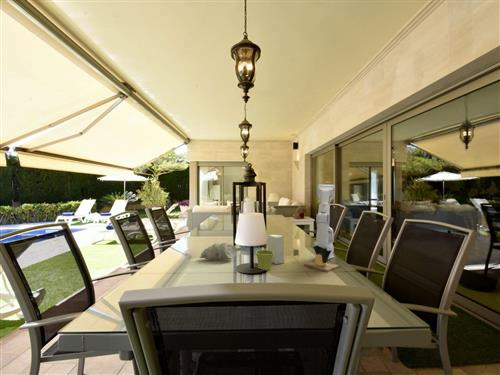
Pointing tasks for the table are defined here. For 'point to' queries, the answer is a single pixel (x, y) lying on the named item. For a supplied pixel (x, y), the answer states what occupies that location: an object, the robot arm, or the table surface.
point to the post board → (322, 268)
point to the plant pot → (264, 259)
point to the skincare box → (276, 248)
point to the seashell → (219, 252)
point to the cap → (319, 260)
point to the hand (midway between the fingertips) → (321, 261)
